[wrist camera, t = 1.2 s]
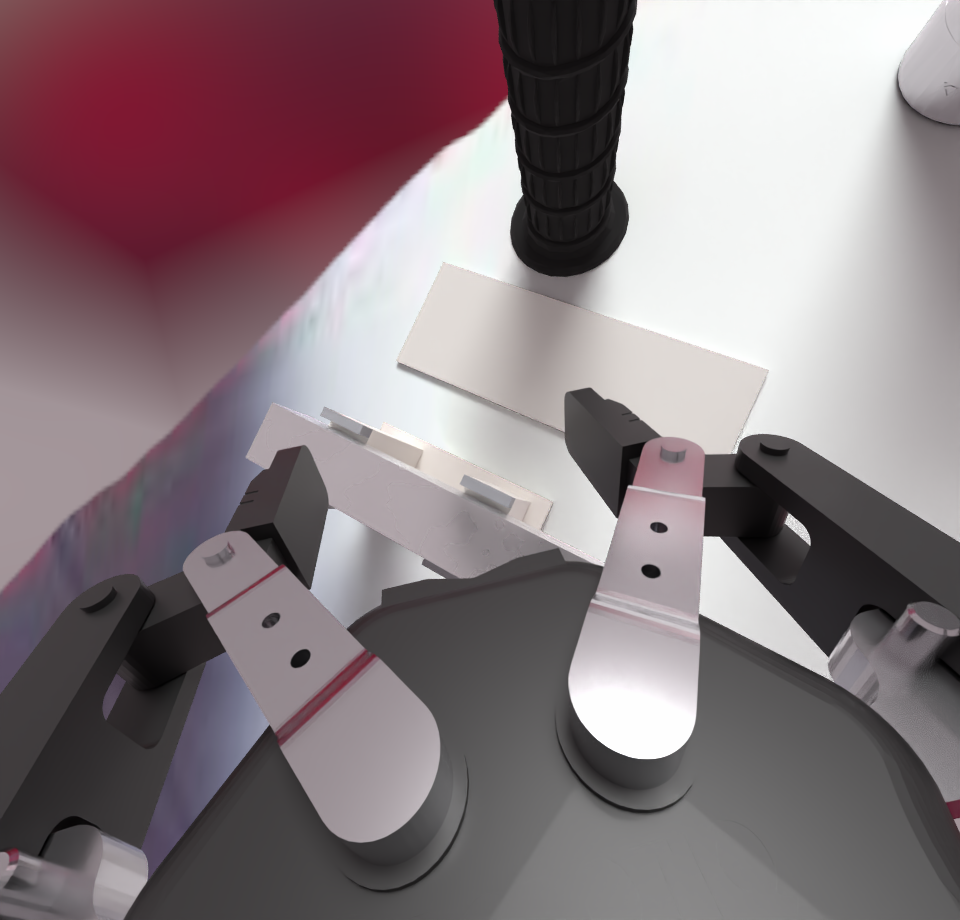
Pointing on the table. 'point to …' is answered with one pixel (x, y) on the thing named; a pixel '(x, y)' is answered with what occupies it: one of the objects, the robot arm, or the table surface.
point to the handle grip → (566, 127)
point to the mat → (574, 360)
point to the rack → (447, 472)
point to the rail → (405, 500)
